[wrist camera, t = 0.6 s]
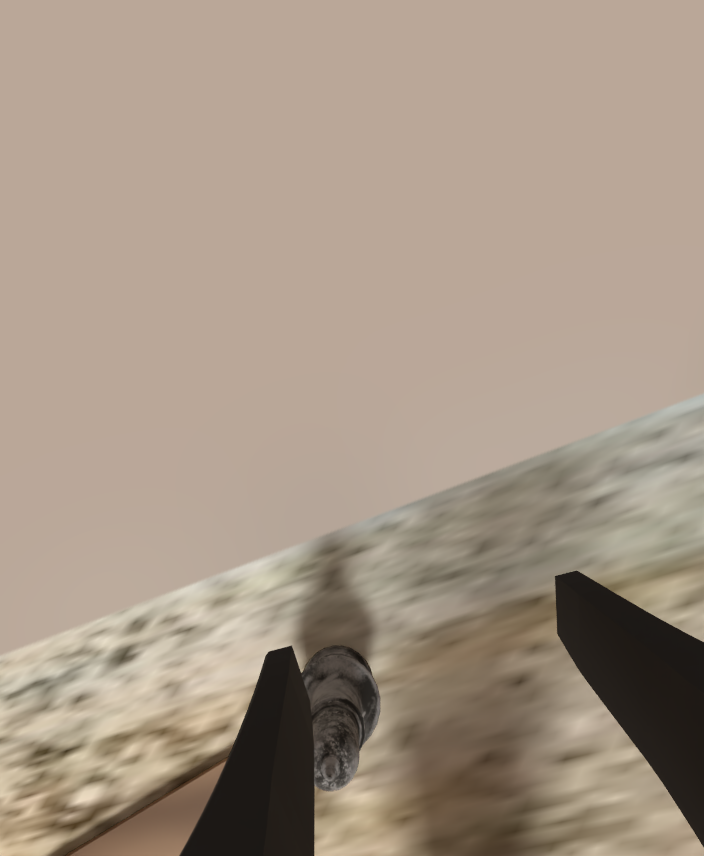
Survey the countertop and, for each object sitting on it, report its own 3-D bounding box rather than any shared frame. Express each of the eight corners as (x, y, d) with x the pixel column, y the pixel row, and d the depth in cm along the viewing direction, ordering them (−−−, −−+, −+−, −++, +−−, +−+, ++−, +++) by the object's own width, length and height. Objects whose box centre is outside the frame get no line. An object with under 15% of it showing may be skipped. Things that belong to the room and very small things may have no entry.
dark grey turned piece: (280, 691, 32) (240, 790, 20) (331, 624, 33) (321, 680, 21) (343, 748, 31) (339, 885, 19) (393, 677, 32) (418, 766, 20)
